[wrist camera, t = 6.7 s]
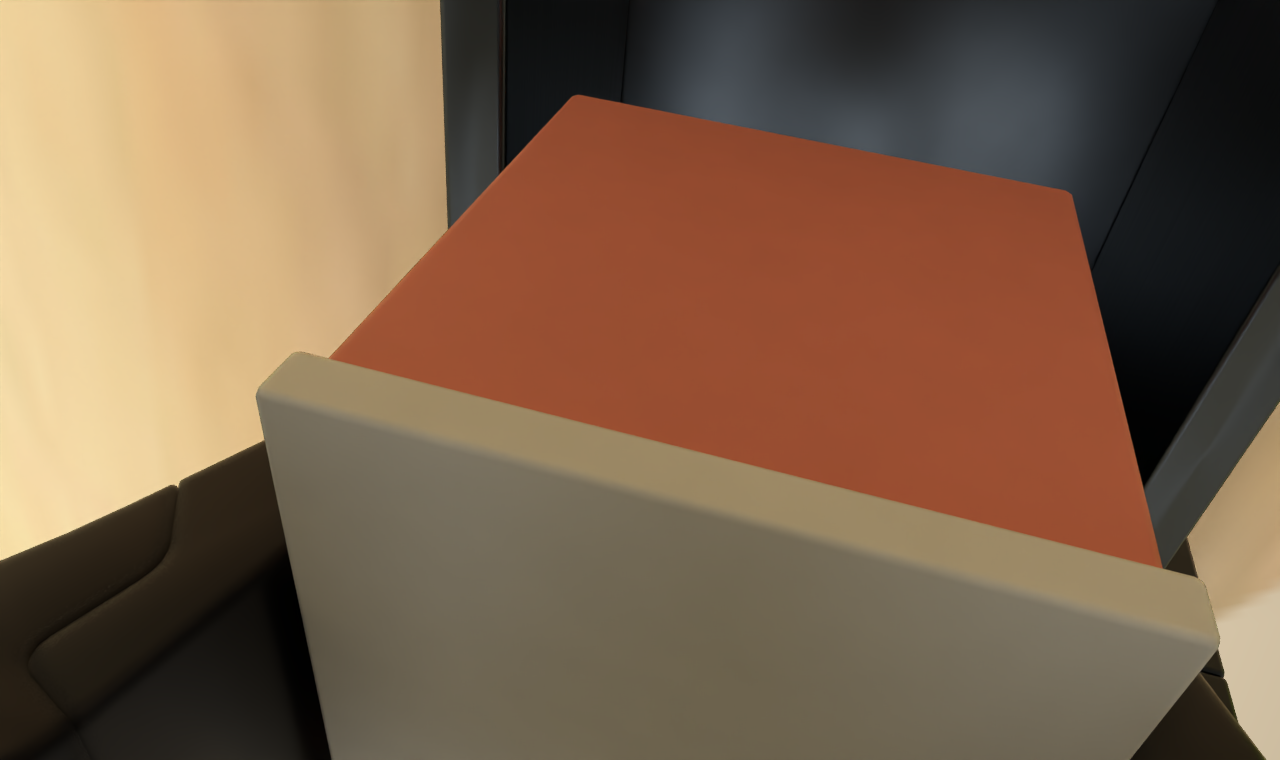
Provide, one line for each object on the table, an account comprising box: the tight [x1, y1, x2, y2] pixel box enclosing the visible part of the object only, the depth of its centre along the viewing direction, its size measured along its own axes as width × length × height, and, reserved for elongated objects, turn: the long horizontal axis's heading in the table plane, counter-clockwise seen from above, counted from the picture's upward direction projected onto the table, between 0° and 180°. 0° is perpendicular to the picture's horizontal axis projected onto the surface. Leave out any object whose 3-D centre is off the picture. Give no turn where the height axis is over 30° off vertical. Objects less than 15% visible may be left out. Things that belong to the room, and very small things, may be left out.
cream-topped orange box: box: [256, 95, 1220, 760], centre depth 8 cm, size 5×5×5 cm
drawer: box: [440, 0, 1280, 569], centre depth 12 cm, size 15×11×7 cm
